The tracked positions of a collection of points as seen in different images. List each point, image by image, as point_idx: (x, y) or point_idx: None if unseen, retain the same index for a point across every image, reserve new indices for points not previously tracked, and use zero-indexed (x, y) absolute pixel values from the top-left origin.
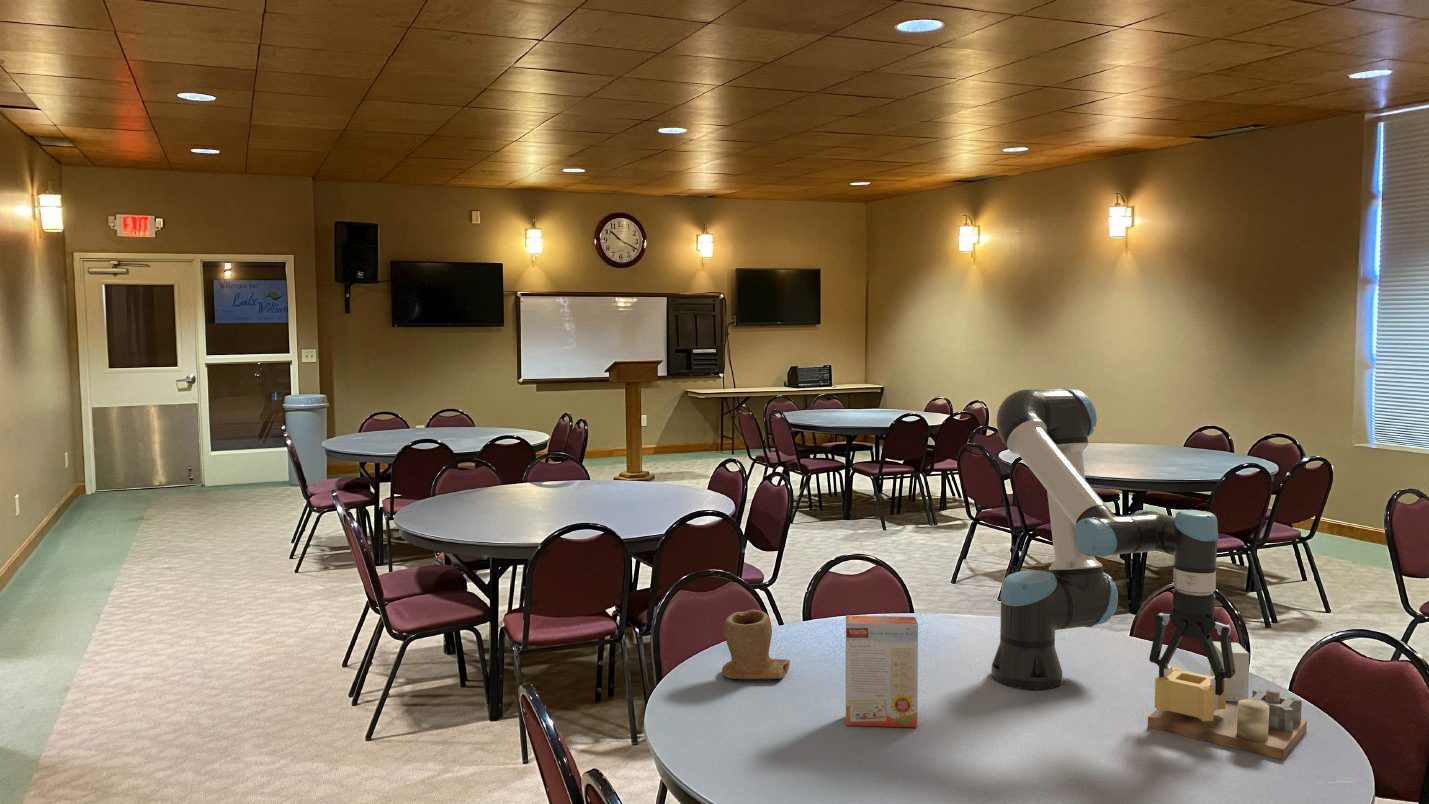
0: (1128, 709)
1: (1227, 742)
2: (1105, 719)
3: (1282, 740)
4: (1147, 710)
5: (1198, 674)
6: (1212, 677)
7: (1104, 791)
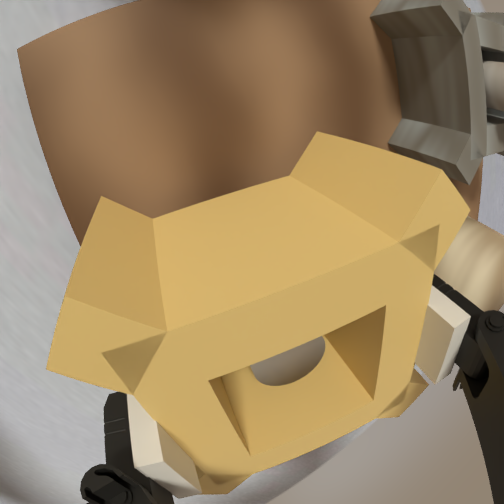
0: (14, 306)
1: None
2: (70, 404)
3: (471, 203)
4: (40, 257)
5: (318, 301)
6: (442, 367)
7: (286, 489)
